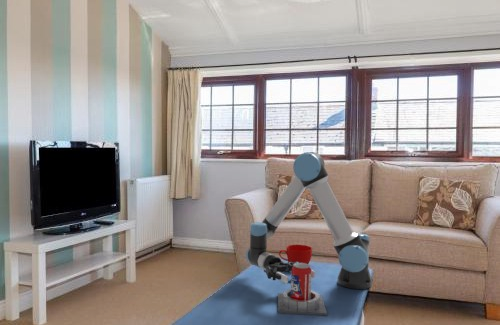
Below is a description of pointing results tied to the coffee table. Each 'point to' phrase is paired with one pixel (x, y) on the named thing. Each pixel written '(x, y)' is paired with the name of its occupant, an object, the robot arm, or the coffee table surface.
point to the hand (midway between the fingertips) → (301, 277)
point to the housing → (301, 304)
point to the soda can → (301, 281)
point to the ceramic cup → (298, 253)
